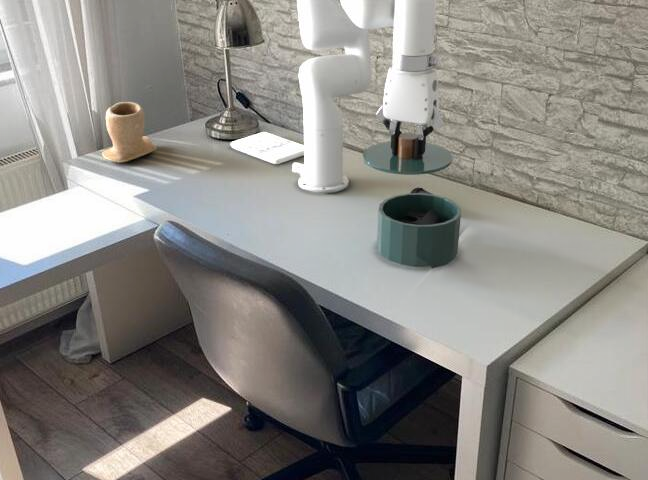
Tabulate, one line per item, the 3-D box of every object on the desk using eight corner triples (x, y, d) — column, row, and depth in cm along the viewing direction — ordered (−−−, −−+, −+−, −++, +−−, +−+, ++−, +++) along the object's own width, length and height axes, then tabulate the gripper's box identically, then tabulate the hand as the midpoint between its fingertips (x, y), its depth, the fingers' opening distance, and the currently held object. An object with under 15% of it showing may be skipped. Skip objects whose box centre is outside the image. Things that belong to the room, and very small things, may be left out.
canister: (363, 258, 166) (365, 216, 161) (396, 227, 178) (398, 187, 174) (439, 276, 159) (443, 233, 154) (468, 242, 171) (472, 202, 166)
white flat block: (265, 136, 233) (264, 130, 232) (312, 153, 220) (312, 146, 219) (229, 147, 225) (228, 141, 224) (276, 165, 212) (275, 158, 211)
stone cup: (123, 169, 211) (115, 114, 203) (97, 159, 218) (88, 105, 210) (168, 154, 220) (162, 101, 213) (141, 145, 227) (135, 93, 220)
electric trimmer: (451, 221, 181) (452, 209, 179) (406, 199, 192) (407, 186, 190) (463, 217, 183) (464, 205, 181) (418, 195, 194) (419, 183, 192)
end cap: (427, 259, 164) (429, 230, 160) (394, 253, 166) (396, 224, 163) (441, 240, 171) (443, 211, 168) (409, 234, 174) (411, 206, 170)
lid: (347, 167, 156) (347, 142, 153) (385, 141, 169) (386, 117, 167) (431, 184, 148) (433, 157, 146) (464, 154, 162) (467, 130, 159)
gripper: (461, 62, 148) (454, 156, 157) (380, 52, 155) (377, 142, 165) (447, 71, 142) (440, 168, 152) (363, 61, 150) (361, 153, 159)
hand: (407, 154), depth 158 cm, fingers closed on lid, 4 cm apart
